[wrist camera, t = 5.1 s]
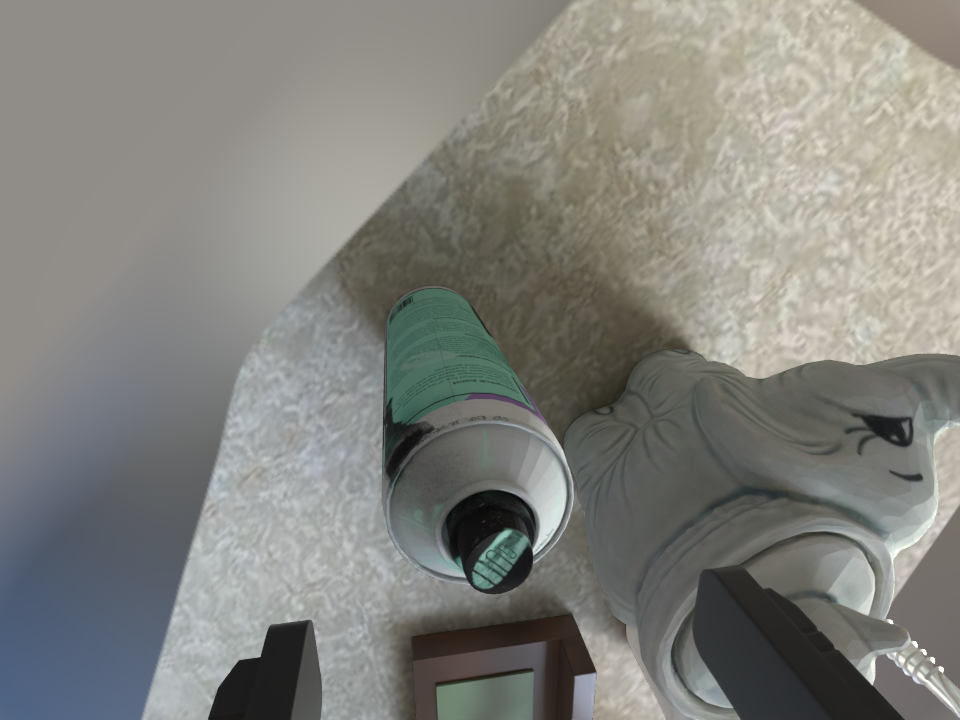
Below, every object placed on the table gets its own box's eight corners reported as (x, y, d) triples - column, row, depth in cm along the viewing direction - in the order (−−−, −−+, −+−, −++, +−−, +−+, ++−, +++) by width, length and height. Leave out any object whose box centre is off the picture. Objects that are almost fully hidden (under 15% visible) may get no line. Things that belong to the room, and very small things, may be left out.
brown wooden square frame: (419, 754, 42) (423, 826, 37) (411, 636, 38) (414, 701, 34) (566, 728, 44) (587, 794, 39) (572, 613, 40) (597, 671, 35)
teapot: (791, 295, 34) (1216, 422, 17) (764, 496, 39) (1069, 757, 22) (540, 323, 32) (724, 503, 14) (546, 532, 37) (689, 853, 20)
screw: (844, 539, 42) (816, 589, 43) (794, 531, 41) (767, 582, 42) (1029, 688, 30) (983, 750, 31) (966, 682, 29) (921, 747, 30)
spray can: (378, 369, 31) (363, 655, 13) (393, 277, 30) (400, 450, 11) (469, 381, 32) (577, 660, 14) (487, 294, 31) (639, 475, 12)
